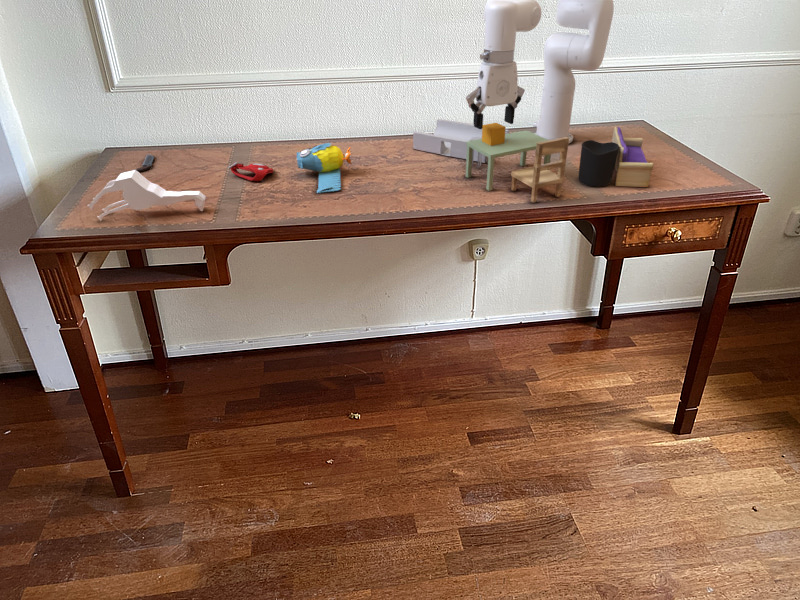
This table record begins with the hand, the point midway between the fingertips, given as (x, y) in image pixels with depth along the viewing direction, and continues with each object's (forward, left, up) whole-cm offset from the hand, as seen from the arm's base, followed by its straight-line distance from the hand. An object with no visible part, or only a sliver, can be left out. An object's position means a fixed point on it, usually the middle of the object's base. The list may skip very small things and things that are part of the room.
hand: (493, 125), depth 159 cm
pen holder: (+16, +23, -15) cm, 32 cm away
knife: (-59, -84, -15) cm, 104 cm away
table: (+2, +4, -15) cm, 15 cm away
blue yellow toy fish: (-25, -39, -15) cm, 49 cm away
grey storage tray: (-23, +3, -15) cm, 28 cm away
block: (0, 0, -5) cm, 5 cm away
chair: (+15, +4, -15) cm, 21 cm away
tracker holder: (-34, -58, -15) cm, 69 cm away
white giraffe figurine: (-21, -87, -15) cm, 91 cm away
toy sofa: (+16, +35, -15) cm, 41 cm away
